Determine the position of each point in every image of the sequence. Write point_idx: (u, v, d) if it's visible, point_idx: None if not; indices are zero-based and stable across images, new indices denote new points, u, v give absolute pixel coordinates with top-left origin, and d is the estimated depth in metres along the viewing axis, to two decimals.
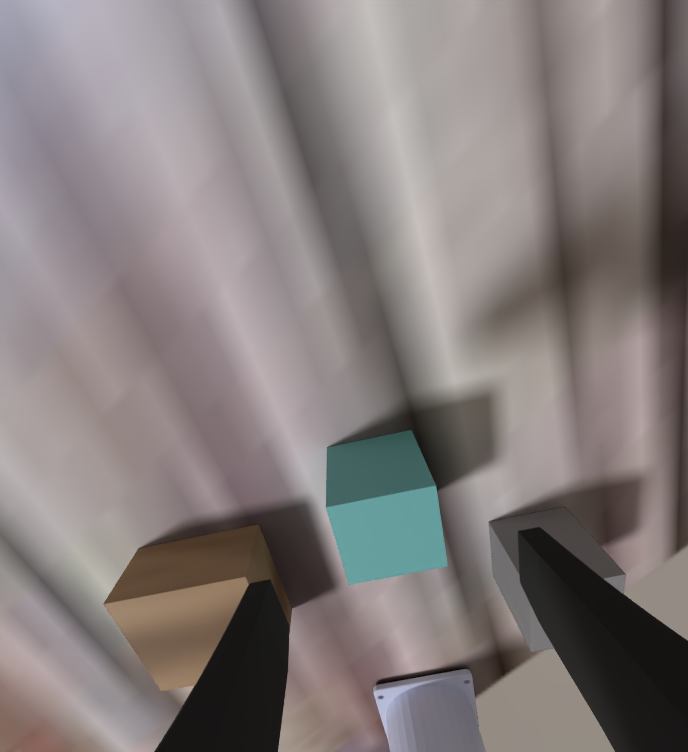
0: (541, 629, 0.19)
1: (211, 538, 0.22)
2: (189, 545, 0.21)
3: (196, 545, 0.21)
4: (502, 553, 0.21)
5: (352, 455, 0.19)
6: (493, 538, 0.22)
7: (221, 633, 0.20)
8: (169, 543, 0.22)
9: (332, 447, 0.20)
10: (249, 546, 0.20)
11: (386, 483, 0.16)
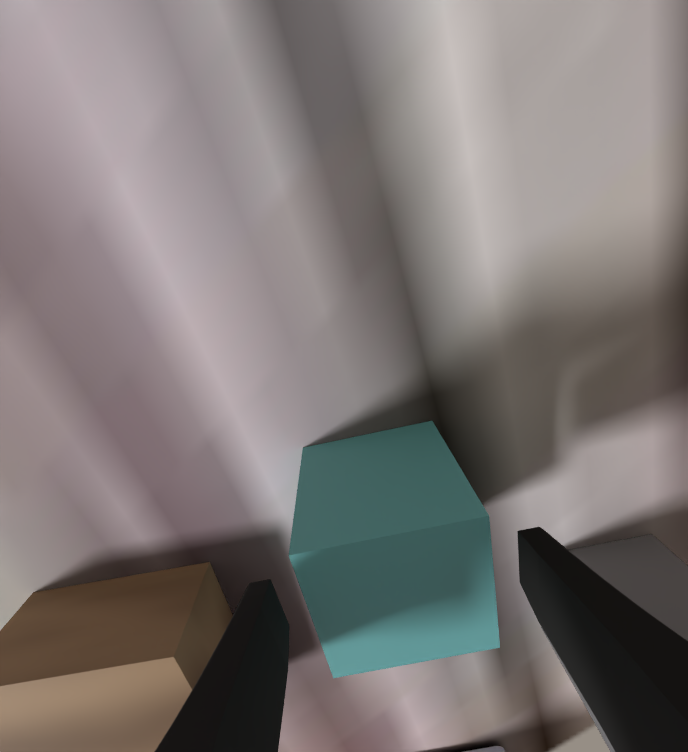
0: None
1: (137, 582, 0.15)
2: (104, 592, 0.14)
3: (114, 593, 0.14)
4: None
5: (340, 460, 0.12)
6: None
7: (141, 734, 0.13)
8: (77, 587, 0.15)
9: (311, 447, 0.13)
10: (189, 599, 0.13)
11: (396, 510, 0.09)
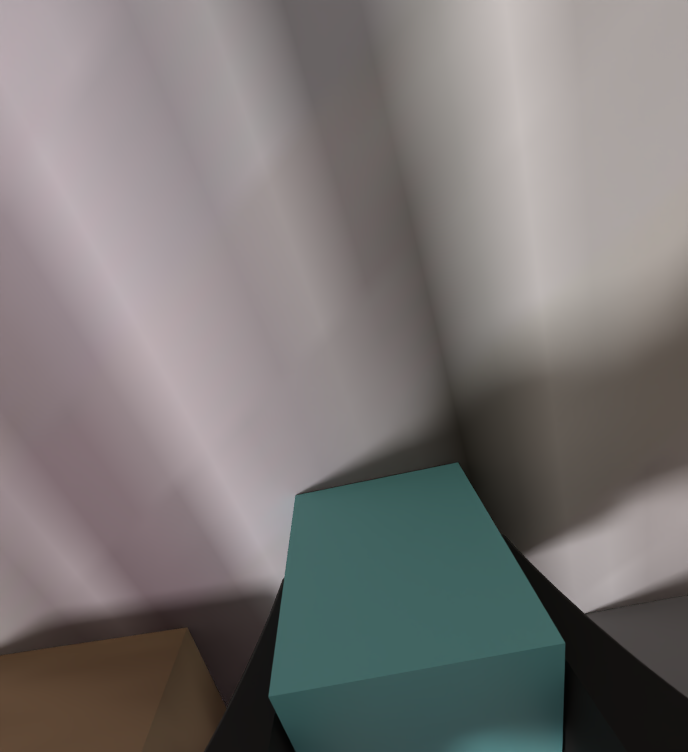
0: None
1: (98, 653, 0.12)
2: (57, 665, 0.12)
3: (68, 666, 0.12)
4: None
5: (343, 521, 0.09)
6: None
7: None
8: (25, 655, 0.12)
9: (305, 498, 0.10)
10: (159, 683, 0.11)
11: (424, 618, 0.06)
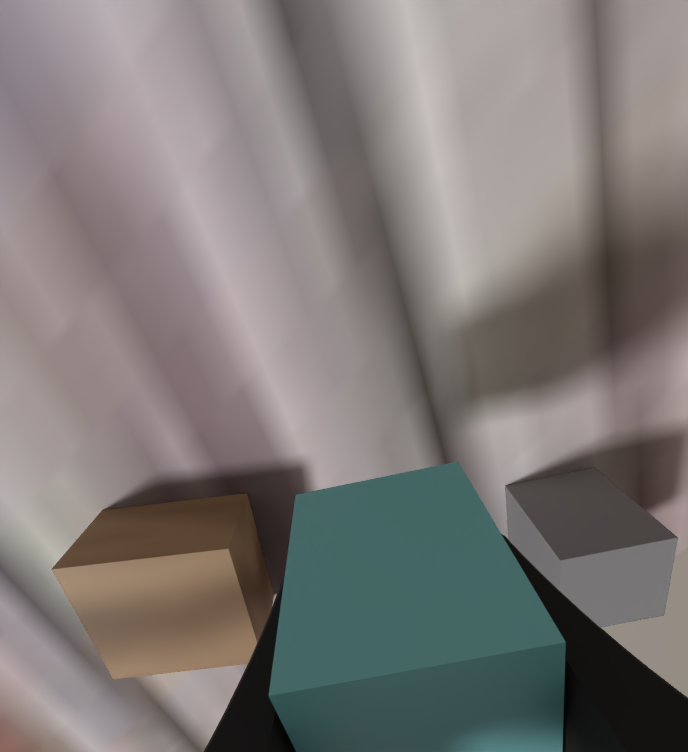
0: None
1: (189, 505, 0.18)
2: (163, 510, 0.18)
3: (171, 511, 0.18)
4: (523, 520, 0.18)
5: (343, 520, 0.09)
6: (511, 504, 0.19)
7: (192, 615, 0.17)
8: (139, 507, 0.19)
9: (305, 497, 0.10)
10: (234, 515, 0.17)
11: (424, 617, 0.06)
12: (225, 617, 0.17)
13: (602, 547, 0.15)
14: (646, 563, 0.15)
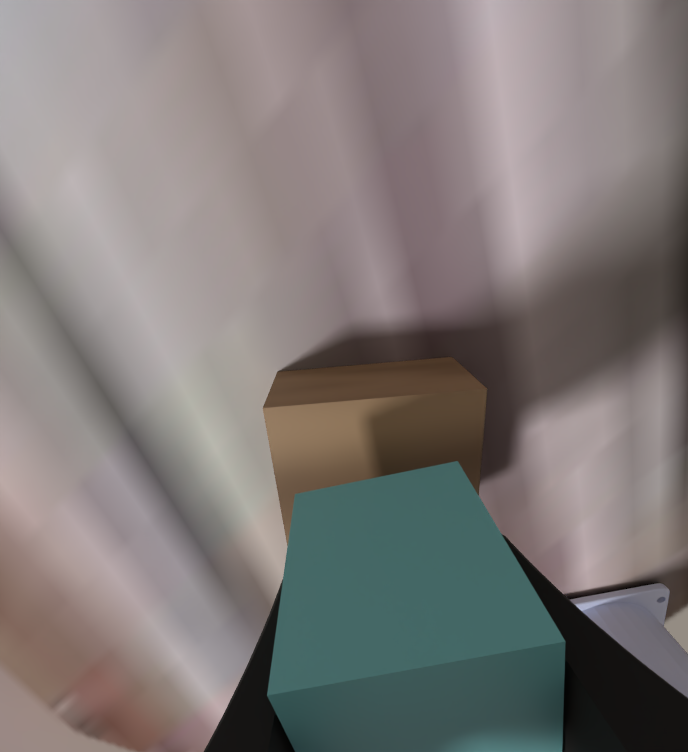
0: None
1: (388, 365, 0.15)
2: (358, 369, 0.15)
3: (370, 369, 0.15)
4: None
5: (342, 519, 0.09)
6: None
7: None
8: (324, 368, 0.15)
9: (304, 496, 0.10)
10: (459, 369, 0.14)
11: (424, 616, 0.06)
12: None
13: None
14: None
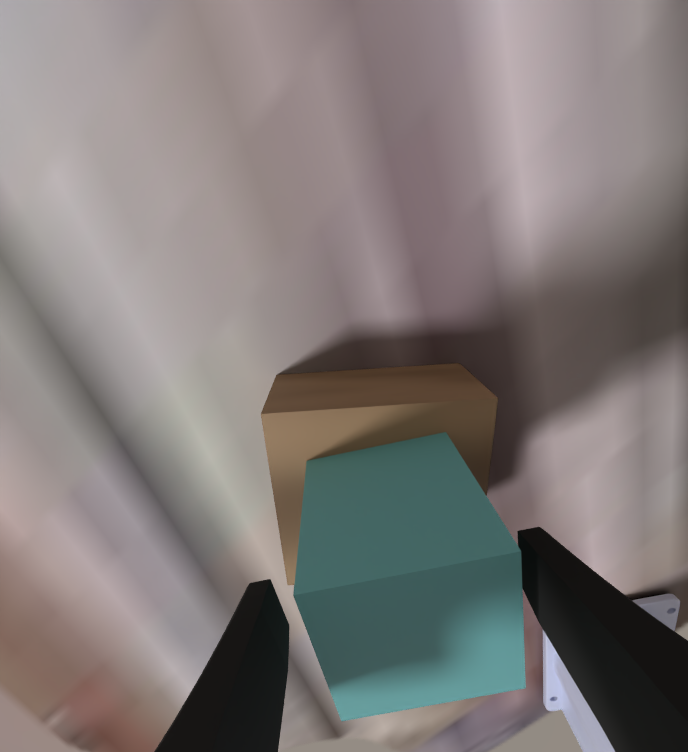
0: None
1: (392, 370, 0.15)
2: (361, 374, 0.14)
3: (374, 374, 0.14)
4: None
5: (348, 478, 0.11)
6: None
7: None
8: (325, 372, 0.15)
9: (315, 462, 0.12)
10: (467, 376, 0.14)
11: (414, 541, 0.08)
12: None
13: None
14: None
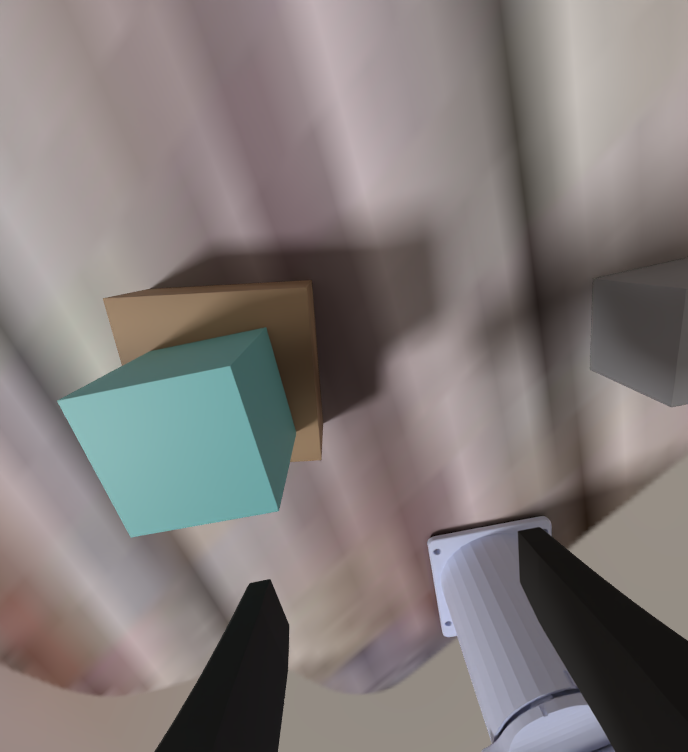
0: None
1: (249, 284, 0.17)
2: (220, 286, 0.16)
3: (230, 285, 0.16)
4: (620, 297, 0.16)
5: (166, 354, 0.13)
6: (601, 296, 0.17)
7: None
8: None
9: (154, 351, 0.14)
10: (304, 283, 0.16)
11: (168, 371, 0.10)
12: (289, 390, 0.15)
13: None
14: None
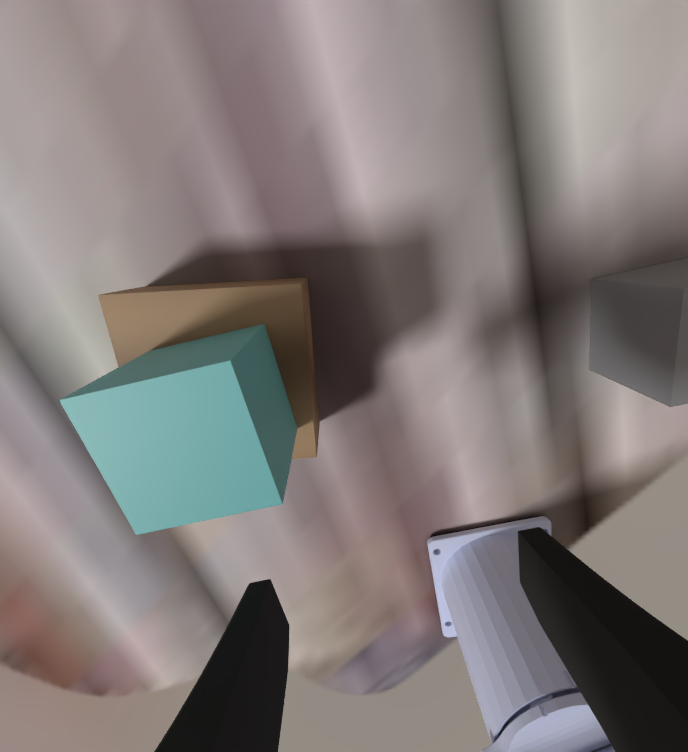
0: None
1: (244, 281, 0.17)
2: (216, 283, 0.16)
3: (225, 282, 0.16)
4: (619, 297, 0.16)
5: (166, 352, 0.13)
6: (599, 296, 0.17)
7: None
8: (188, 284, 0.17)
9: (153, 350, 0.14)
10: (299, 280, 0.16)
11: (169, 368, 0.10)
12: None
13: None
14: None
